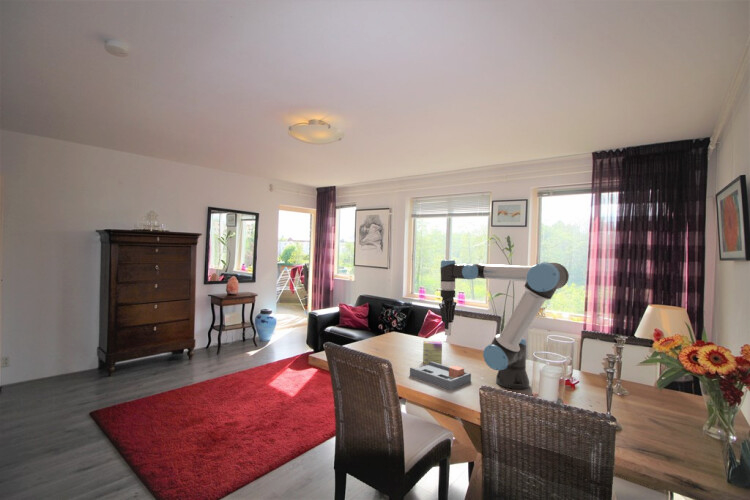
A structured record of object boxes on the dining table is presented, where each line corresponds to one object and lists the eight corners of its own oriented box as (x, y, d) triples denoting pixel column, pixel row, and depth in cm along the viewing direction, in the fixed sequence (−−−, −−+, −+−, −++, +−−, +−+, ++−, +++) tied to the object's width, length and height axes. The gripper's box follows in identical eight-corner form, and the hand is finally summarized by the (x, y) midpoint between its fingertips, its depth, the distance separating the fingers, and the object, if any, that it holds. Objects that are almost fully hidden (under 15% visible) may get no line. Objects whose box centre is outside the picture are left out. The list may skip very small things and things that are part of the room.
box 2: (470, 381, 175) (470, 373, 175) (450, 390, 164) (450, 381, 164) (430, 368, 194) (430, 361, 194) (409, 375, 182) (409, 367, 182)
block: (464, 376, 175) (464, 368, 175) (458, 378, 172) (458, 370, 172) (454, 373, 179) (454, 365, 179) (448, 375, 176) (448, 367, 176)
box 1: (440, 361, 206) (441, 341, 207) (441, 364, 201) (442, 343, 201) (422, 360, 207) (423, 340, 208) (423, 363, 202) (423, 343, 202)
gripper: (448, 288, 192) (448, 332, 191) (434, 289, 183) (434, 335, 182) (460, 289, 187) (460, 334, 186) (447, 290, 177) (446, 338, 177)
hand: (447, 335), depth 184 cm, fingers closed
